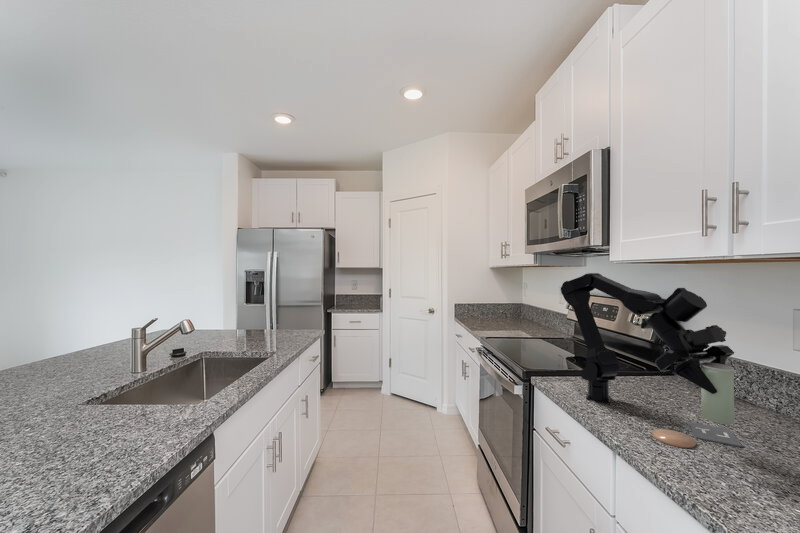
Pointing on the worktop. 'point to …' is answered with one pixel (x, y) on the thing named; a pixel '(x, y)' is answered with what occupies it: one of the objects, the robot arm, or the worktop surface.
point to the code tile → (714, 434)
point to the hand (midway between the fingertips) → (724, 391)
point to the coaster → (674, 438)
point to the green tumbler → (718, 393)
